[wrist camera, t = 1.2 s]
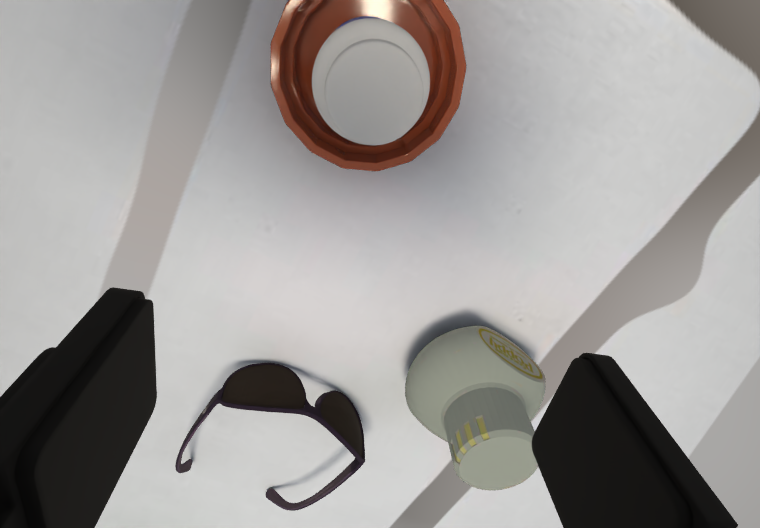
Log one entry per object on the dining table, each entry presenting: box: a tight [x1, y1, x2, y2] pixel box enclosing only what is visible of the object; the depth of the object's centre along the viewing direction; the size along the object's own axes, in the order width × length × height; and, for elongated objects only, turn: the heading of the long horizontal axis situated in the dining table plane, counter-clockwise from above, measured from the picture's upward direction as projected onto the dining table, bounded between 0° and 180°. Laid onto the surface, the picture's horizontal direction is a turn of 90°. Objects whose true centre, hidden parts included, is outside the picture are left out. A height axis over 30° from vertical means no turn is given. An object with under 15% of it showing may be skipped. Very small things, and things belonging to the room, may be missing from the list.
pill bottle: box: [312, 16, 430, 145], centre depth 22 cm, size 5×5×10 cm
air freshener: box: [405, 326, 545, 490], centre depth 34 cm, size 11×8×10 cm
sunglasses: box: [176, 363, 365, 510], centre depth 39 cm, size 14×16×5 cm
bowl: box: [271, 0, 466, 171], centre depth 25 cm, size 10×10×4 cm
